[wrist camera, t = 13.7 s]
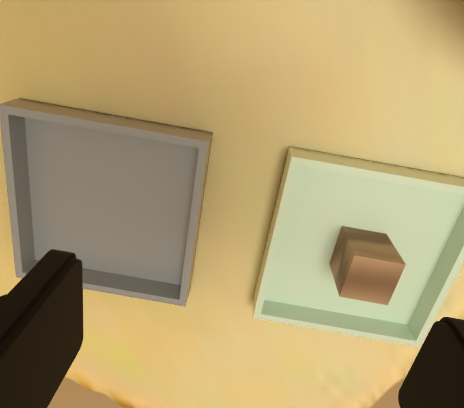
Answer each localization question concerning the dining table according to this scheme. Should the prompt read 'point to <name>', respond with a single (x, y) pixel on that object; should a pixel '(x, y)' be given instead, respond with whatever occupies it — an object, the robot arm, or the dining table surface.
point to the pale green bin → (367, 218)
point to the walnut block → (365, 265)
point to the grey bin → (105, 196)
